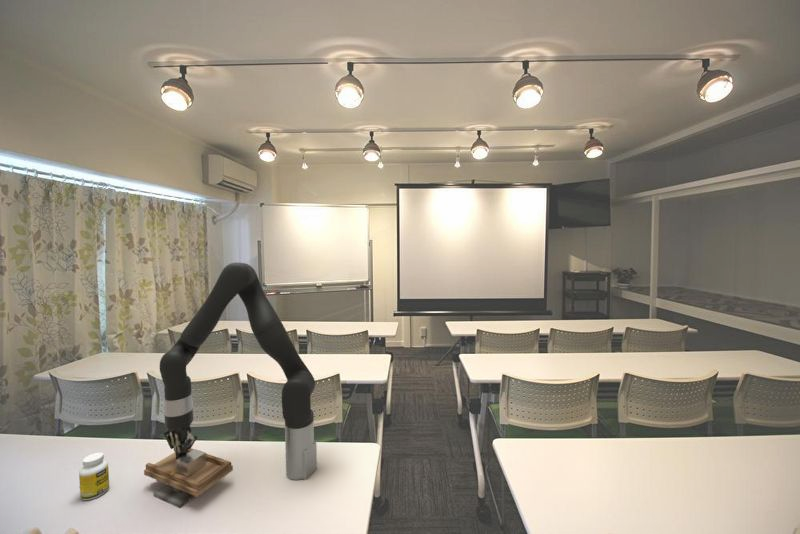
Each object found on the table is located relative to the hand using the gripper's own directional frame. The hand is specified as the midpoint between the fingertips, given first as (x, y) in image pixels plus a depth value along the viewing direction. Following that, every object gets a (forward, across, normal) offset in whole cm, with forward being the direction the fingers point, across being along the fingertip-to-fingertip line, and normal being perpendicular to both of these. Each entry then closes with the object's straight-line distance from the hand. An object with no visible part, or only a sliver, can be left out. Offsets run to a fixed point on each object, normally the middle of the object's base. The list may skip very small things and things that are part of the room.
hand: (181, 461), depth 104 cm
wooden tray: (+7, -4, 0) cm, 8 cm away
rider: (+1, -5, 0) cm, 5 cm away
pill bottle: (+7, +20, +13) cm, 25 cm away
